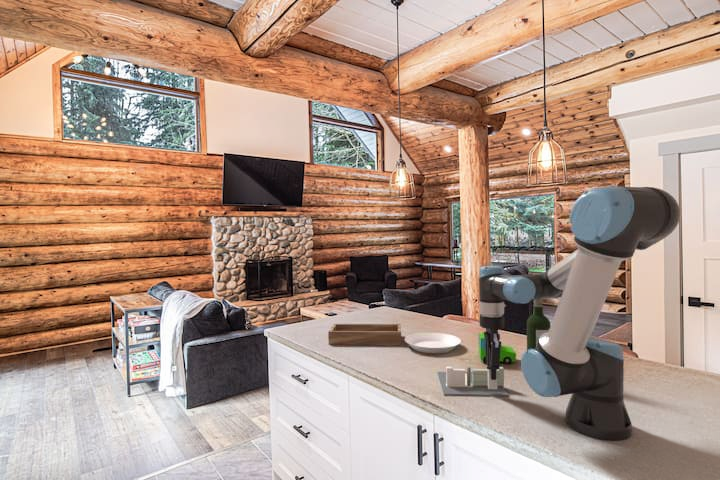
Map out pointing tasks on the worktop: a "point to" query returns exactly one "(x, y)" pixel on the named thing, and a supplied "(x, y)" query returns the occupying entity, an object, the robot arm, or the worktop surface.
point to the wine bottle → (536, 325)
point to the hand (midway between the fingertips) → (492, 388)
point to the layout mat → (469, 388)
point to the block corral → (365, 334)
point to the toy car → (505, 352)
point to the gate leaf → (486, 377)
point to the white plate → (432, 342)
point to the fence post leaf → (457, 376)
